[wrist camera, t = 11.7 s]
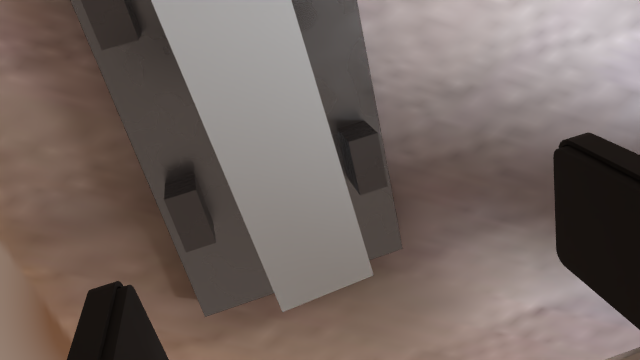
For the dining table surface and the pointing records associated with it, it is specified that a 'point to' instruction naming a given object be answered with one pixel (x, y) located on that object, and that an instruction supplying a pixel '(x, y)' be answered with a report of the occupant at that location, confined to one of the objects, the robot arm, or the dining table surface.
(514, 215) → the dining table surface
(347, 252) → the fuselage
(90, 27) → the cradle
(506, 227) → the dining table surface
